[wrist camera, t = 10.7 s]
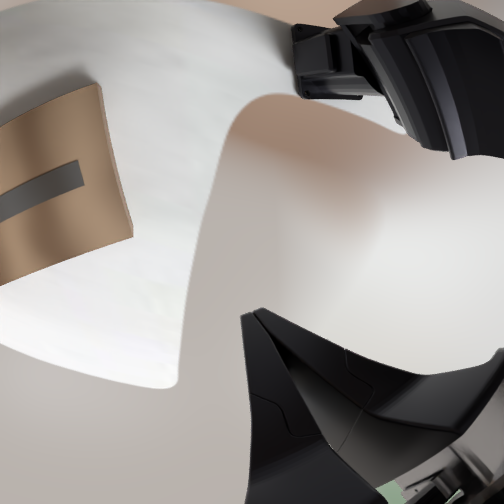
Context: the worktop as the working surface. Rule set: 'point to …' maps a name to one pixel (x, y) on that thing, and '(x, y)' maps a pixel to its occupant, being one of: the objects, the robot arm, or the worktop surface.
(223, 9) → the worktop surface
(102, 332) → the worktop surface
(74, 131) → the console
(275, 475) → the robot arm
